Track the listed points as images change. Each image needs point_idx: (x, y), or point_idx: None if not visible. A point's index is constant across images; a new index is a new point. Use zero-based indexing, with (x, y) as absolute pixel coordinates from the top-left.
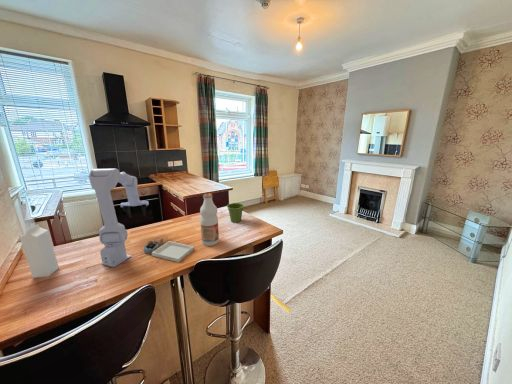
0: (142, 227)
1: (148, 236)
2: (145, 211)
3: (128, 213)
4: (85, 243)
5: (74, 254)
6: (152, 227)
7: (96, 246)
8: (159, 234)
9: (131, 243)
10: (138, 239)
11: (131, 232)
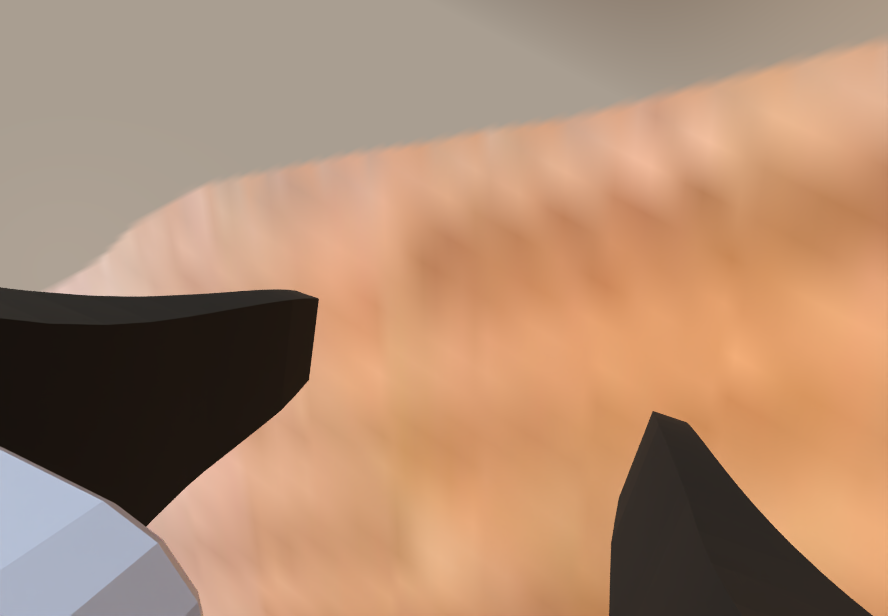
0: (581, 136)
1: None
2: (729, 487)
3: (186, 475)
4: None
5: None
6: (752, 222)
7: None
8: None
9: (427, 604)
10: (505, 551)
11: (419, 264)
